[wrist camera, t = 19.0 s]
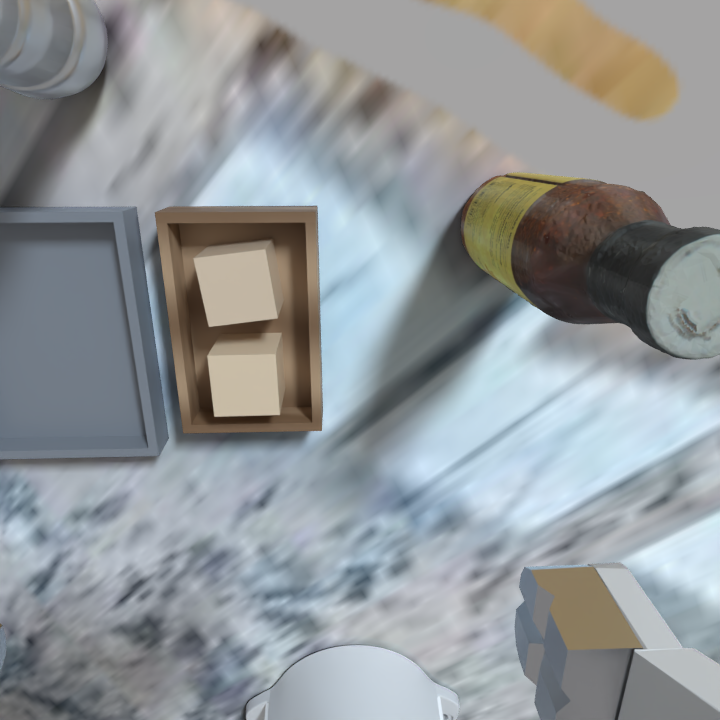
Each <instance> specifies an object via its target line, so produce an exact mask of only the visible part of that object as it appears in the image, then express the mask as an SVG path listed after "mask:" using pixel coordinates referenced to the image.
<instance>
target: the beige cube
mask: <svg viewBox="0 0 720 720" xmlns="http://www.w3.org/2000/svg"><path fill="white" fill-rule="evenodd" d="M193 259H194V263H195V268H196V272H197V277H198V281H199V285H200V290H201V294H202V299H203V303H204V307H205V312H206V316H207V321H208V325H209V327H213V326H221V325H229V324H237V323H245V322H253V321H261V320H269V319H277V318H278V316H279V313H280V310H281V307H282V304H283V301H284V299H283V293H282V287H281V281H280V276H279V270H278V264H277V258H276V253H275V247H274V241H273V238H266V239H258V240H250V241H242V242H235V243H227V244H219V245H211V246H208V247H207V248H205V249H204V250H203V251H202V252H200V253H199V254H198V255H197V256H196V257H194V258H193Z"/></svg>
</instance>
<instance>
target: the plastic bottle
mask: <svg viewBox="0 0 720 720" xmlns="http://www.w3.org/2000/svg"><path fill="white" fill-rule="evenodd" d="M107 50H108V37H107V29H106V26H105V23H104V19H103V16H102V14H101V12H100V10H99V8H98V6H97V4H96V3H95V2H94V0H0V86H2V87H5V88H7V89H9V90H12V91H14V92H17V93H19V94H22V95H24V96H27V97H32V98H36V99H57V98H62V97H66V96H70V95H74V94H76V93H79V92H81V91H83V90H84V89H86V88H87V87H89V86H90V85H91V84H92V83H93V82H94V81H95V80H96V79H97V77H98V76H99V75H100V73H101V71H102V69H103V67H104V64H105V61H106V57H107Z"/></svg>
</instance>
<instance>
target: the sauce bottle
mask: <svg viewBox="0 0 720 720" xmlns="http://www.w3.org/2000/svg"><path fill="white" fill-rule="evenodd" d="M461 237H462V242H463V245H464V247H465V249H466V251H467V252H468V253H469V255H470V256H471V258H472V259H473V261H474V262H475V263H476V264H477V265H478V266H479V267H480V268H481V269H482V270H484V271H485V272H486V273H488V274H489V275H491V276H492V277H493V278H495V279H496V280H498V281H499V282H501V283H502V284H504V285H505V286H506V287H508V288H509V289H510V290H512V291H513V292H515V293H517V294H518V295H519V296H520V297H522V298H524V299H525V300H526V301H528V302H530V303H531V304H532V305H533V306H535V307H537V308H538V309H540V310H541V311H543V312H544V313H546V314H548V315H550V316H551V317H553V318H555V319H558V320H561V321H564V322H568V323H573V324H603V323H623V324H625V325H627V326H628V327H630V328H631V329H632V331H633V332H634V334H635V335H636V336H637V337H638V338H639V339H640V340H642V341H643V342H645V343H646V344H648V345H649V346H651V347H653V348H655V349H658V350H660V351H661V352H664V353H667V354H669V355H671V356H673V357H676V358H682V359H702V358H712V357H714V356H717V355H720V230H718V229H714V228H709V227H693V228H688V229H681V228H677V227H674V226H671V225H670V223H669V221H668V220H667V218H666V216H665V215H664V213H663V211H662V209H661V207H660V206H659V205H658V204H657V203H656V202H655V201H654V200H652V198H651V197H649V196H648V195H646V194H645V192H643V191H637V190H634V189H632V188H630V187H627V186H622V185H614V184H607V183H604V182H601V181H598V180H592V179H584V178H573V177H563V176H552V175H542V174H532V173H519V172H517V173H509V174H506V175H504V176H496V177H493V178H491V179H490V180H488V181H486V182H485V183H483V184H482V185H481V186H480V187H479V188H477V189H476V191H475V192H474V194H473V195H472V196H471V198H470V199H469V200H468V202H467V203H466V205H465V207H464V209H463V212H462V218H461Z"/></svg>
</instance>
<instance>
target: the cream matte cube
mask: <svg viewBox="0 0 720 720" xmlns="http://www.w3.org/2000/svg"><path fill="white" fill-rule="evenodd" d="M207 358H208V366H209V375H210V383H211V392H212V401H213V409H214V417H224V416H261V415H280V412H281V407H282V402H283V397H284V392H285V376H284V360H283V345H282V333H246V334H220V335H219V337H218V339H217V340H216V342H215V344H214V345H213V347H212V349H211V350H210V352H209V354H208V355H207Z"/></svg>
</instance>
